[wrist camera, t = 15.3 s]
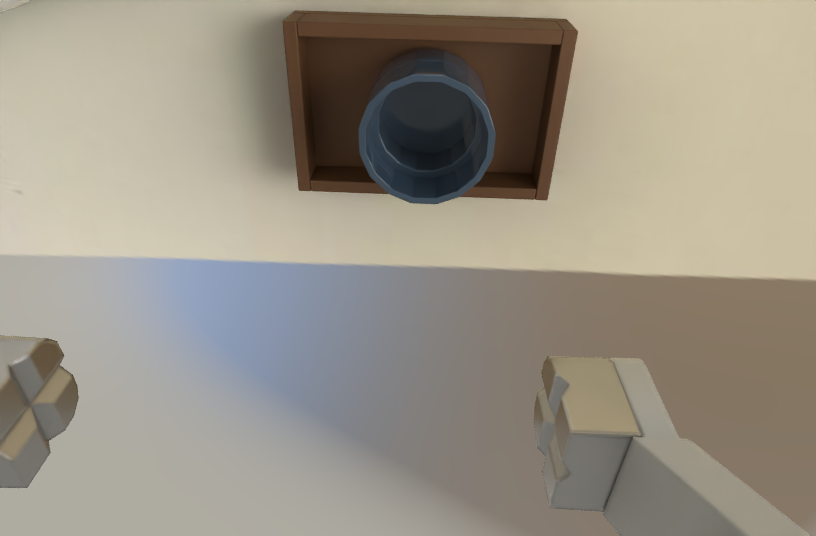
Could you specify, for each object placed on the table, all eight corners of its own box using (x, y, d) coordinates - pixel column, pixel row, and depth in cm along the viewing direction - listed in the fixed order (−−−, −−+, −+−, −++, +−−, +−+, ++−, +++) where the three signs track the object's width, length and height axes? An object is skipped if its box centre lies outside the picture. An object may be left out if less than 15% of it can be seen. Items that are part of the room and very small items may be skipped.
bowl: (370, 160, 29) (360, 201, 25) (368, 44, 25) (356, 71, 22) (481, 164, 28) (487, 206, 25) (492, 48, 25) (502, 76, 22)
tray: (307, 170, 30) (298, 191, 28) (294, 10, 25) (282, 21, 23) (540, 179, 29) (547, 200, 27) (567, 19, 25) (578, 30, 23)
